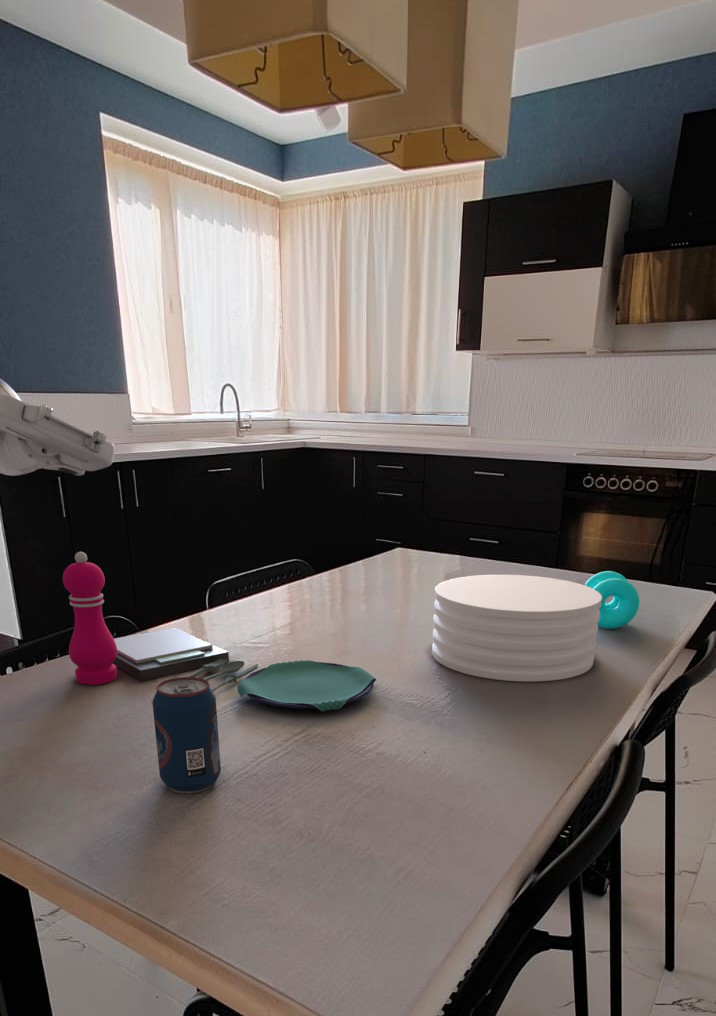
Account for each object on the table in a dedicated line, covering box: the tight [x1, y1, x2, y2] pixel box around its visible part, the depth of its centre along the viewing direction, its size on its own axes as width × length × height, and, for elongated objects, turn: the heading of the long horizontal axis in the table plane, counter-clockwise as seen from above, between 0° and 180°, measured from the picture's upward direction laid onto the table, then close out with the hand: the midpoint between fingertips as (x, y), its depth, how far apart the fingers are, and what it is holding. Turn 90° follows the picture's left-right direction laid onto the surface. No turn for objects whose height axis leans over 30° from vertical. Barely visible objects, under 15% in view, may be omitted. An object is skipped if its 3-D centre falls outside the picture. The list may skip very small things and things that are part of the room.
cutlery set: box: [184, 659, 377, 712], centre depth 119 cm, size 20×30×2 cm, turn 66°
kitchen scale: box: [112, 627, 230, 682], centre depth 132 cm, size 18×16×2 cm
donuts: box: [584, 570, 640, 630], centre depth 154 cm, size 10×10×10 cm
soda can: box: [152, 676, 222, 794], centre depth 87 cm, size 7×7×12 cm
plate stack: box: [431, 574, 602, 683], centre depth 134 cm, size 28×28×12 cm
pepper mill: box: [62, 551, 118, 686], centre depth 119 cm, size 7×7×20 cm
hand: (75, 424), depth 126 cm, fingers open, 8 cm apart
